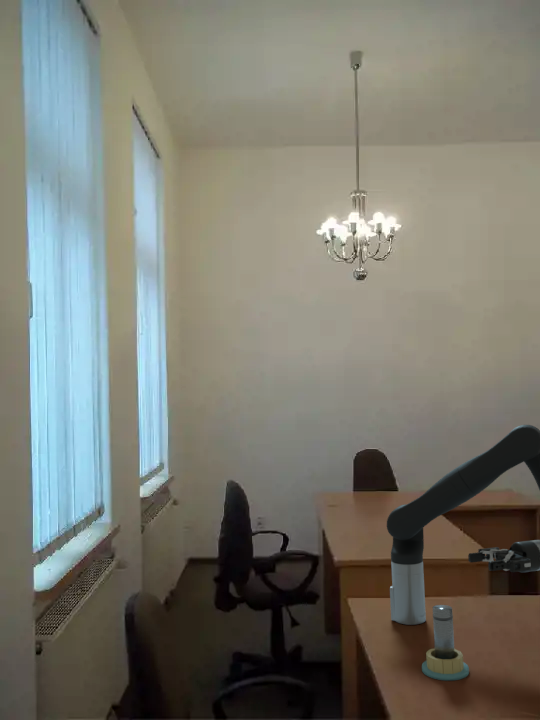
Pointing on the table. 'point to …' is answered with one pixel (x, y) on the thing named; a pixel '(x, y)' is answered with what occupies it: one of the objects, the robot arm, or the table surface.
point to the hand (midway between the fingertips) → (479, 562)
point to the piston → (443, 632)
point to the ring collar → (445, 667)
